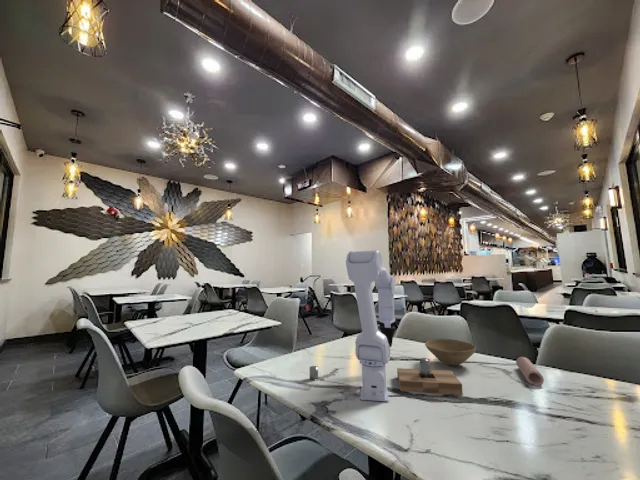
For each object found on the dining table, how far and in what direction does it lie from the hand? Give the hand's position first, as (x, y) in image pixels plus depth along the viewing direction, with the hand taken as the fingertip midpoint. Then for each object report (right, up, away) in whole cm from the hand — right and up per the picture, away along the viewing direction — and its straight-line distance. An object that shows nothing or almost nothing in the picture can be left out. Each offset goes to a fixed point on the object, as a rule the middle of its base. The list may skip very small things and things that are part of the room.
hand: (388, 344), depth 104 cm
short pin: (-27, -10, -5) cm, 30 cm away
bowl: (+27, -11, +8) cm, 30 cm away
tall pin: (+10, -9, -12) cm, 18 cm away
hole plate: (+10, -9, -12) cm, 18 cm away
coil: (+48, -9, -6) cm, 49 cm away
